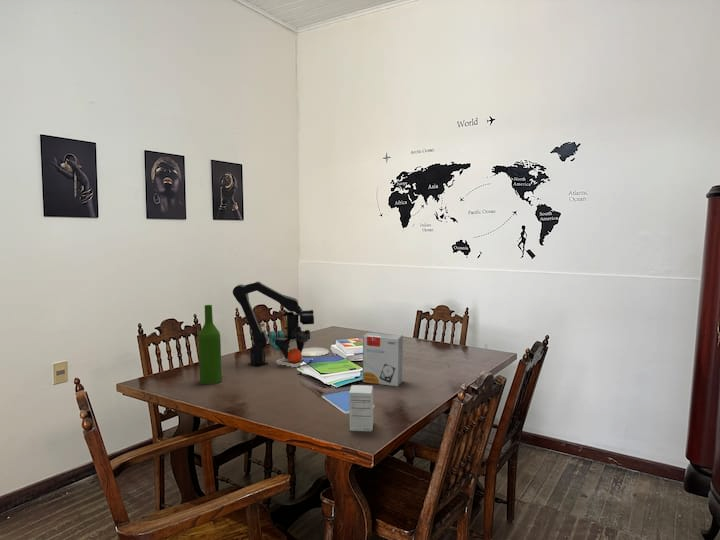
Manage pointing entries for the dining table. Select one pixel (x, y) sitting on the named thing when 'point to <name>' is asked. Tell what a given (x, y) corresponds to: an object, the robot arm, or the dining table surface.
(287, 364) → the white flat square frame
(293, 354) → the clementine
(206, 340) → the wine bottle
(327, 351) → the cream plate
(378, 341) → the hard drive box
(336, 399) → the tablet computer
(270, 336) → the bracket
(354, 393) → the supplement box
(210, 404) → the dining table surface
